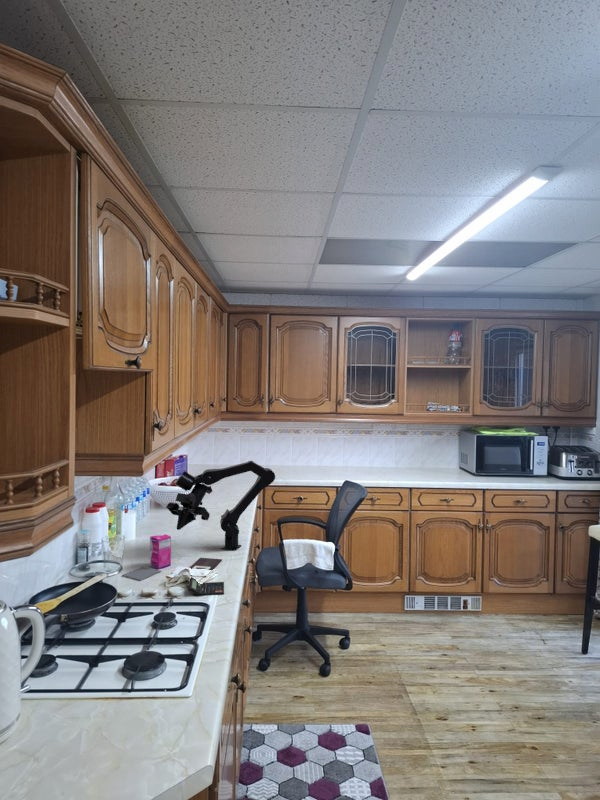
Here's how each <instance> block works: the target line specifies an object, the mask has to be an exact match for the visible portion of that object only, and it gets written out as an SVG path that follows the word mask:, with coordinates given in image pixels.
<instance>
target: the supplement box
mask: <svg viewBox="0 0 600 800" xmlns="http://www.w3.org/2000/svg"><path fill="white" fill-rule="evenodd" d="M171 549H172V537H171V535H168V534H166V533H163V532H162V533H158V534H154V535H151V536H149V566H150V567H151V568H154V569H156V570H161V569H165V568H167V567H171V566H172V561H171V560H172V559H171V558H172V551H171Z"/></svg>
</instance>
